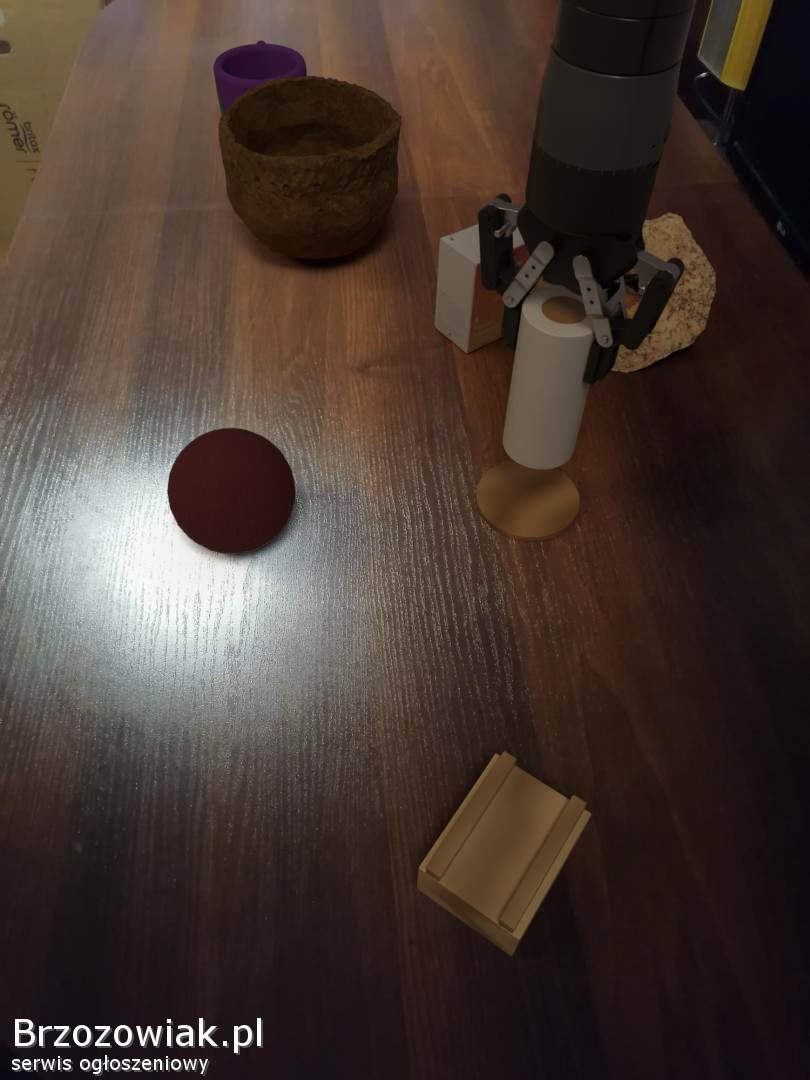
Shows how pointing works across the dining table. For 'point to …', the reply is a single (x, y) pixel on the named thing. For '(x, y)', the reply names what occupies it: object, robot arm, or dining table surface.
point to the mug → (253, 69)
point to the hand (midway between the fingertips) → (554, 360)
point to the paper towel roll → (548, 378)
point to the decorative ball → (231, 490)
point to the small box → (469, 290)
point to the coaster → (527, 501)
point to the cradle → (502, 852)
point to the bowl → (311, 164)
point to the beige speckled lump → (686, 302)
